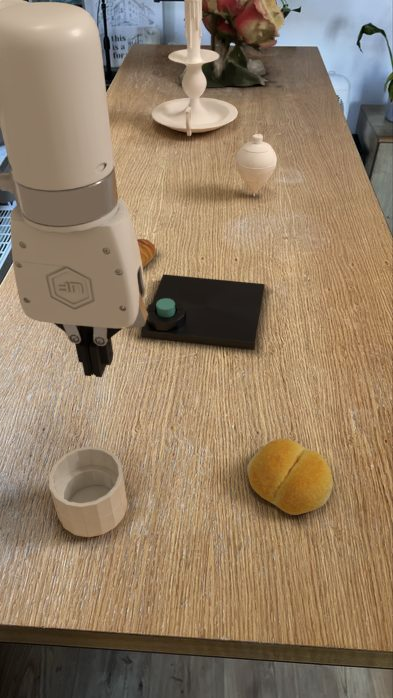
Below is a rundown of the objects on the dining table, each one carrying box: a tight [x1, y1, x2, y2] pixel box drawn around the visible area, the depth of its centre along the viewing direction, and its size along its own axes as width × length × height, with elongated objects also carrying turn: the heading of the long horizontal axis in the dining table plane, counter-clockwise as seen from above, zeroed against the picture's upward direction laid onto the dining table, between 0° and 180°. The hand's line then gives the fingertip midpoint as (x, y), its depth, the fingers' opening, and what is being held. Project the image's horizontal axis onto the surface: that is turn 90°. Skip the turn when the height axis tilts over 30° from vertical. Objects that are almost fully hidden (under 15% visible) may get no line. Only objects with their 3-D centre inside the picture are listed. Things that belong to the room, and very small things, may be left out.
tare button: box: [156, 298, 175, 318], centre depth 82 cm, size 3×3×2 cm
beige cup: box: [48, 445, 128, 538], centre depth 60 cm, size 7×7×6 cm
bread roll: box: [246, 438, 334, 516], centre depth 63 cm, size 8×9×4 cm
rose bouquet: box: [175, 0, 285, 88], centre depth 162 cm, size 26×29×30 cm
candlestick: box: [150, 0, 239, 137], centre depth 131 cm, size 21×25×28 cm
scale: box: [140, 274, 266, 351], centre depth 86 cm, size 16×14×3 cm
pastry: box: [137, 238, 156, 268], centre depth 96 cm, size 9×7×4 cm
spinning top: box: [235, 133, 278, 197], centre depth 110 cm, size 8×8×12 cm
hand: (97, 366), depth 57 cm, fingers closed
